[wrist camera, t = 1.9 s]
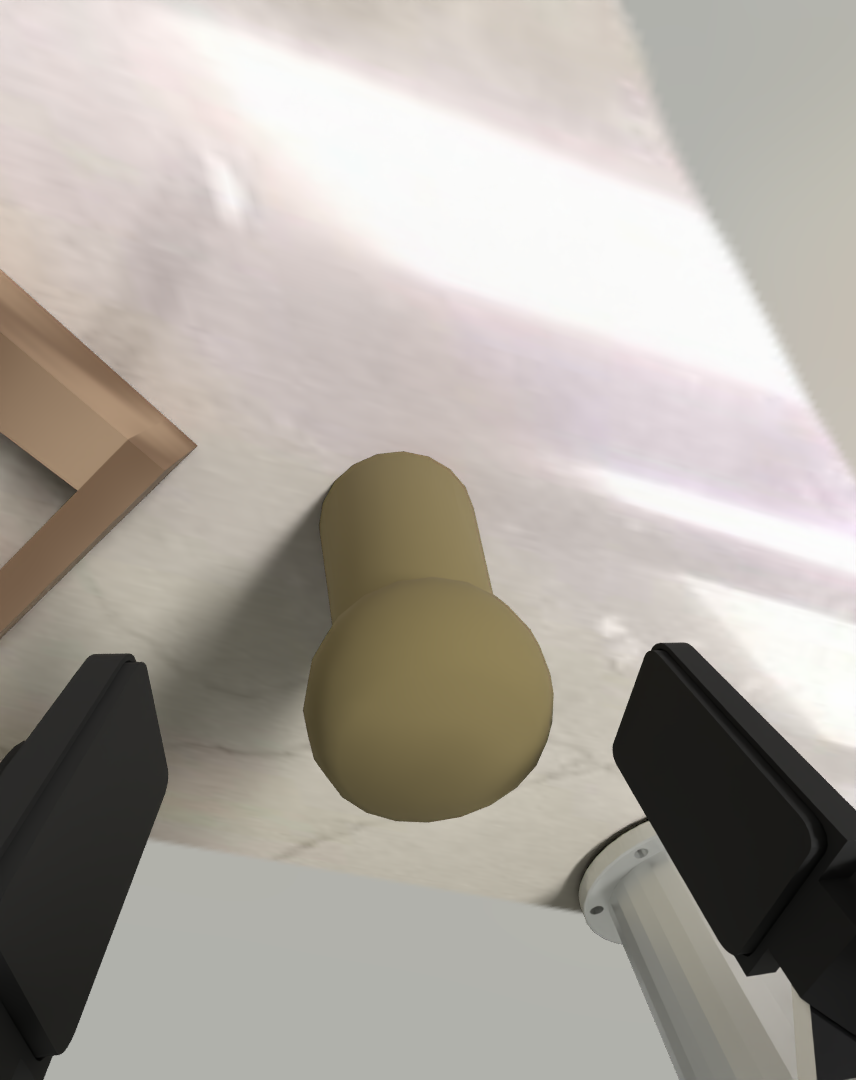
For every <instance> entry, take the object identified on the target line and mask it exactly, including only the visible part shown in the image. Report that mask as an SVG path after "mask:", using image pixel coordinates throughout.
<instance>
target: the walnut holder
mask: <svg viewBox="0 0 856 1080" xmlns="http://www.w3.org/2000/svg"><path fill="white" fill-rule="evenodd" d="M0 432H1V433H2V434H4V435H5V436H6V437H8V438H9V439H10V440H12V441H13V442H14V443H16V444H17V445H18V446H19V447H21V448H22V449H23V450H25V451H26V452H27V453H29V454H30V455H31V456H33V457H34V458H35V459H37V460H38V461H39V462H41V463H42V464H43V465H45V466H46V467H47V468H48V469H50V470H51V471H52V472H54V473H55V474H56V475H58V476H59V477H60V478H62V479H63V480H64V481H66V482H67V483H68V484H70V485H71V486H72V487H73V488H75V489H76V490H77V492H76V493H75V494H74V495H73V496H72V497H71V498H70V499H69V500H68V501H67V502H66V503H65V504H64V505H63V506H62V507H61V508H60V509H59V510H58V511H57V512H56V513H55V514H54V515H53V516H52V517H51V518H50V519H49V520H48V521H47V523H46V524H45V525H44V526H43V527H42V528H41V529H40V530H39V531H38V532H37V533H36V534H35V535H34V536H33V537H32V538H31V539H30V540H29V541H28V542H27V543H26V544H25V545H24V546H23V547H22V548H21V549H20V550H19V551H18V552H17V553H16V554H15V555H14V556H13V557H12V558H11V559H10V560H9V561H8V562H7V563H6V564H5V565H4V566H3V567H2V569H1V570H0V638H1V637H2V636H3V635H4V634H5V633H7V632H8V631H9V630H10V629H11V628H12V627H13V626H14V625H15V624H16V623H17V622H18V621H19V620H20V619H21V618H22V617H23V616H24V615H25V614H26V613H27V612H28V611H29V610H30V609H31V608H32V607H33V606H34V605H35V604H36V603H37V602H38V601H39V600H40V599H41V598H42V597H43V596H44V595H45V594H46V593H47V592H48V591H49V590H50V589H51V588H52V587H54V586H55V585H56V584H57V583H58V582H59V581H60V580H61V579H62V578H63V577H64V576H65V575H66V574H67V573H68V572H69V571H70V570H71V569H72V568H73V567H74V566H75V565H76V564H77V563H78V562H79V561H80V560H81V559H82V558H83V557H84V556H85V555H86V554H87V553H88V552H89V551H90V550H91V549H92V548H93V547H94V546H95V545H96V544H97V543H98V542H99V541H101V540H102V539H103V538H104V537H105V536H106V535H107V534H108V533H109V532H110V531H111V530H112V529H113V528H114V527H115V526H116V525H117V524H118V523H119V522H120V521H121V520H122V519H123V518H124V517H125V516H126V515H127V514H128V513H129V512H130V511H131V510H132V509H133V508H134V507H135V506H136V505H137V504H138V503H139V502H140V501H141V500H142V499H143V498H144V497H145V496H146V495H148V494H149V493H150V492H151V491H152V490H153V489H154V488H155V487H156V486H157V485H158V484H159V483H160V482H161V481H162V480H163V479H164V478H165V477H166V476H167V475H168V474H169V473H170V472H171V471H172V470H173V469H174V468H175V467H176V466H177V465H178V464H179V463H180V462H181V461H182V460H183V459H184V458H185V457H186V456H187V455H188V454H189V453H190V452H191V451H192V450H194V449H195V448H196V447H197V445H196V444H195V443H194V442H193V441H192V440H190V439H189V438H188V437H187V436H186V435H185V434H184V433H183V432H181V431H180V430H179V429H178V428H177V427H176V426H175V425H174V424H173V423H171V422H170V421H169V420H168V419H167V418H166V417H165V416H164V415H163V414H161V413H160V412H159V411H158V410H157V409H156V408H155V407H154V406H152V405H151V404H150V403H149V402H148V401H147V400H146V399H145V398H144V397H142V396H141V395H140V394H139V393H138V392H137V391H136V390H135V389H133V388H132V387H131V386H130V385H129V384H128V383H127V382H126V381H125V380H123V379H122V378H121V377H120V376H119V375H118V374H117V373H116V372H114V371H113V370H112V369H111V368H110V367H109V366H108V365H107V364H106V363H104V362H103V361H102V360H101V359H100V358H99V357H98V356H97V355H95V354H94V353H93V352H92V351H91V350H90V349H89V348H88V347H87V346H85V345H84V344H83V343H82V342H81V341H80V340H79V339H78V338H76V337H75V336H74V335H73V334H72V333H71V332H70V331H69V330H68V329H66V328H65V327H64V326H63V325H62V324H61V323H60V322H59V321H57V320H56V319H55V318H54V317H53V316H52V315H51V314H50V313H49V312H47V311H46V310H45V309H44V308H43V307H42V306H41V305H40V304H38V303H37V302H36V301H35V300H34V299H33V298H32V297H31V296H30V295H28V294H27V293H26V292H25V291H24V290H23V289H22V288H21V287H19V286H18V285H17V284H16V283H15V282H14V281H13V280H12V279H11V278H9V277H8V276H7V275H6V274H5V273H4V272H3V271H2V270H1V269H0Z"/></svg>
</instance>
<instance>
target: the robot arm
mask: <svg viewBox="0 0 856 1080" xmlns="http://www.w3.org/2000/svg"><path fill="white" fill-rule="evenodd" d="M613 757H614V760H615V762H616V764H617V766H618V768H619V770H620V771H621V773H622V775H623V777H624V778H625V780H626V782H627V784H628V785H629V787H630V789H631V790H632V792H633V794H634V796H635V797H636V799H637V801H638V803H639V804H640V806H641V808H642V810H643V811H644V813H645V815H646V816H647V818H648V820H649V821H647V822H644V823H642V824H640V825H638V826H636V827H635V828H633V829H631V830H629V831H628V832H626V833H624V834H622V835H621V836H620V837H618V838H617V839H616V840H614V841H613V842H612V843H610V844H609V845H608V846H607V847H606V848H605V849H604V850H603V851H602V852H601V853H600V854H599V855H598V856H597V857H596V858H595V859H594V860H593V862H592V863H591V864H590V866H589V867H588V869H587V870H586V872H585V874H584V877H583V879H582V881H581V883H580V889H579V894H578V895H579V902H580V907H581V909H582V912H583V914H584V917H585V919H586V922H587V924H588V925H589V927H590V928H591V929H592V931H593V932H595V933H596V934H597V935H599V936H601V937H602V938H604V939H606V940H609V941H611V942H614V943H618V944H623V947H624V949H625V951H626V954H627V956H628V958H629V961H630V963H631V965H632V968H633V970H634V973H635V975H636V978H637V980H638V982H639V985H640V987H641V990H642V992H643V994H644V997H645V999H646V1002H647V1004H648V1006H649V1009H650V1011H651V1014H652V1016H653V1018H654V1021H655V1023H656V1025H657V1028H658V1030H659V1033H660V1035H661V1037H662V1040H663V1042H664V1045H665V1047H666V1049H667V1052H668V1054H669V1056H670V1059H671V1061H672V1064H673V1066H674V1069H675V1071H676V1073H677V1076H678V1078H679V1080H856V810H855V809H854V808H853V807H852V806H851V805H850V804H849V803H848V802H847V801H846V800H845V799H844V798H843V797H842V796H841V795H840V794H839V793H838V792H837V791H836V790H835V789H834V788H833V787H832V786H831V785H830V784H829V783H828V782H827V781H826V780H825V779H824V778H823V777H822V776H821V775H820V774H819V773H818V772H817V771H816V770H815V769H814V768H813V767H812V766H811V765H810V764H809V763H808V762H807V761H806V760H805V759H804V758H803V757H802V756H801V755H800V754H799V753H798V752H797V751H796V750H795V749H794V748H793V747H792V746H791V745H790V744H789V743H788V742H787V741H786V740H785V739H784V738H783V737H782V736H781V735H780V734H779V733H778V732H777V731H776V730H775V729H774V728H773V727H772V726H771V725H770V724H769V723H768V722H767V721H766V720H765V719H764V718H763V717H762V716H761V715H760V714H759V713H758V712H757V711H756V710H755V709H754V708H753V707H752V706H751V705H750V704H749V703H748V702H747V701H746V700H745V699H744V698H743V697H742V696H741V695H740V694H739V693H738V692H737V691H736V690H735V689H734V688H733V687H732V686H731V685H730V684H729V683H728V682H727V681H726V680H725V679H724V678H723V677H722V676H721V675H720V674H719V673H718V672H717V671H716V670H715V669H714V668H713V667H712V666H711V665H710V664H709V663H708V662H707V661H706V660H705V659H704V658H703V657H702V656H701V655H700V654H699V653H698V652H697V651H696V650H695V649H694V648H693V647H692V646H691V645H689V644H687V643H658V644H656V645H654V646H653V648H652V650H651V651H648V652H647V653H646V655H645V657H644V660H643V662H642V665H641V668H640V671H639V673H638V676H637V679H636V682H635V685H634V687H633V690H632V693H631V696H630V699H629V701H628V704H627V707H626V710H625V712H624V715H623V718H622V721H621V724H620V726H619V729H618V732H617V735H616V737H615V740H614V743H613ZM167 783H168V768H167V763H166V758H165V754H164V749H163V744H162V739H161V734H160V729H159V724H158V720H157V715H156V710H155V705H154V700H153V695H152V690H151V686H150V681H149V676H148V671H147V667H146V665H145V663H143V662H136V660H135V657H134V656H133V655H132V654H93V655H91V656H89V657H88V658H87V659H86V660H85V662H84V663H83V664H82V666H81V667H80V668H79V670H78V671H77V672H76V674H75V675H74V676H73V678H72V679H71V680H70V682H69V683H68V685H67V686H66V687H65V689H64V690H63V691H62V693H61V694H60V695H59V697H58V698H57V699H56V701H55V702H54V703H53V705H52V706H51V707H50V709H49V710H48V712H47V713H46V714H45V716H44V717H43V718H42V720H41V721H40V722H39V724H38V725H37V726H36V728H35V729H34V730H33V732H32V733H31V734H30V736H29V737H28V739H27V740H26V741H23V742H21V743H20V744H18V745H16V746H15V747H14V748H13V749H12V750H11V751H10V752H9V753H8V754H7V755H6V756H5V758H4V759H3V760H2V762H1V763H0V1080H43V1079H44V1076H45V1074H46V1071H47V1068H48V1066H49V1064H50V1061H51V1058H52V1056H54V1055H60V1054H62V1053H63V1052H64V1051H65V1050H66V1048H67V1047H68V1045H69V1043H70V1042H71V1040H72V1037H73V1035H74V1033H75V1030H76V1028H77V1025H78V1023H79V1020H80V1018H81V1015H82V1012H83V1010H84V1007H85V1004H86V1001H87V999H88V996H89V994H90V991H91V988H92V986H93V983H94V980H95V978H96V975H97V972H98V969H99V967H100V964H101V962H102V959H103V957H104V954H105V951H106V949H107V946H108V943H109V941H110V938H111V935H112V933H113V930H114V927H115V924H116V922H117V919H118V917H119V914H120V911H121V909H122V906H123V903H124V901H125V898H126V896H127V893H128V890H129V888H130V885H131V882H132V880H133V877H134V874H135V872H136V869H137V866H138V864H139V861H140V858H141V856H142V853H143V850H144V848H145V845H146V843H147V840H148V837H149V835H150V832H151V829H152V827H153V824H154V821H155V819H156V816H157V813H158V811H159V808H160V805H161V803H162V800H163V797H164V795H165V792H166V788H167Z"/></svg>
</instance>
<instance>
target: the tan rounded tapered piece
mask: <svg viewBox="0 0 856 1080" xmlns="http://www.w3.org/2000/svg"><path fill="white" fill-rule="evenodd" d="M319 530H320V537H321V544H322V552H323V559H324V567H325V574H326V581H327V589H328V596H329V604H330V611H331V618H332V627H331V629H330V630H329V632H328V633H327V635H326V637H325V638H324V640H323V642H322V643H321V645H320V647H319V648H318V650H317V652H316V653H315V655H314V657H313V659H312V663H311V668H310V674H309V679H308V685H307V690H306V696H305V702H304V708H303V712H304V717H305V723H306V728H307V733H308V737H309V741H310V745H311V749H312V753H313V757H314V760H315V761H316V763H317V764H318V766H319V767H320V768H321V770H322V771H323V772H324V774H325V775H326V777H327V778H328V779H329V780H330V782H331V783H332V784H333V786H334V787H335V788H336V790H337V791H338V792H339V793H340V795H341V796H342V797H343V798H344V799H346V800H347V801H349V802H351V803H352V804H354V805H355V806H357V807H358V808H360V809H362V810H363V811H365V812H366V813H370V814H373V815H377V816H380V817H384V818H387V819H391V820H394V821H406V822H434V821H440V820H445V819H451V818H457V817H462V816H464V815H467V814H469V813H472V812H474V811H477V810H479V809H482V808H484V807H487V806H490V805H491V804H493V803H494V802H496V801H497V800H499V799H500V798H502V797H503V796H505V795H506V794H508V793H509V792H511V791H512V790H514V789H515V788H517V787H518V785H519V784H520V783H521V782H522V781H523V780H524V779H525V778H526V776H527V775H528V774H529V773H530V772H531V771H532V770H533V769H534V768H535V766H536V765H537V763H538V760H539V758H540V756H541V754H542V751H543V749H544V747H545V745H546V743H547V740H548V736H549V732H550V728H551V725H552V714H553V695H554V694H553V688H552V682H551V676H550V672H549V669H548V667H547V664H546V662H545V659H544V656H543V654H542V651H541V648H540V646H539V644H538V642H537V641H536V639H535V637H534V635H533V634H532V632H531V630H530V629H529V628H528V627H527V625H526V624H525V623H524V622H523V621H522V620H521V619H520V618H519V617H518V616H517V615H516V614H515V613H514V612H513V611H512V610H511V609H510V608H509V607H508V606H507V605H506V604H505V603H504V602H502V601H501V600H500V599H499V598H498V597H496V596H495V595H493V592H492V588H491V583H490V579H489V574H488V570H487V565H486V561H485V556H484V552H483V548H482V543H481V539H480V534H479V530H478V525H477V521H476V517H475V512H474V508H473V505H472V503H471V500H470V498H469V495H468V493H467V490H466V487H465V486H464V485H463V484H462V483H461V481H460V480H459V479H458V478H457V477H456V476H455V474H454V473H453V472H452V471H451V470H450V469H449V468H447V467H445V466H444V465H442V464H440V463H438V462H437V461H435V460H433V459H432V458H430V457H428V456H423V455H418V454H413V453H408V452H404V451H403V452H393V453H384V454H377V455H374V456H372V457H370V458H367V459H365V460H363V461H361V462H358V463H356V464H354V465H353V466H351V467H350V468H349V469H348V470H347V471H346V472H345V473H344V474H343V475H341V476H340V477H339V478H338V479H337V480H336V481H335V482H334V484H333V485H332V487H331V489H330V491H329V493H328V494H327V496H326V498H325V500H324V502H323V505H322V511H321V517H320V523H319Z"/></svg>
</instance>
